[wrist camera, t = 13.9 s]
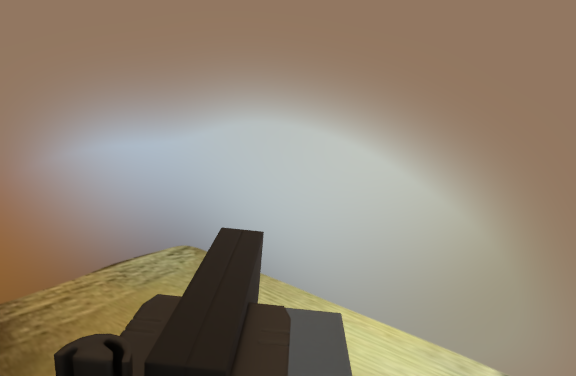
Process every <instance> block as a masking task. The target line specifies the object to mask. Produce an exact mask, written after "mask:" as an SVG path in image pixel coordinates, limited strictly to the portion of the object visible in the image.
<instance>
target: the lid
mask: <svg viewBox="0 0 576 376" xmlns="http://www.w3.org/2000/svg"><path fill="white" fill-rule="evenodd" d="M285 309H286V311H287V312H288V314H289V316H290V318H291V327H290V345H289V364H288V376H352V372H351V366H350V361H349V355H348V350H347V344H346V338H345V333H344V327H343V321H342V316H341V313H332V312H323V311H313V310H303V309H293V308H285Z"/></svg>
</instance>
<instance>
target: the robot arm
mask: <svg viewBox="0 0 576 376" xmlns="http://www.w3.org/2000/svg"><path fill="white" fill-rule="evenodd" d="M263 233H264V232H259V231H250V230H240V229H231V228H221V230H220V231H219V233H218V235H217V237H216V238H215V240H214V242H213V244H212V245H211V247H210V249H209V250H208V252H207V254H206V256H205V257H204V259H203V261H202V263H201V264H200V266H199V268H198V270H197V271H196V273H195V275H194V277H193V278H192V280H191V282H190V284H189V285H188V287H187V289H186V290H185V292H184V294H183V296H182V297H180V296H170V295H161V294H158V295H156V296H155V297H153V298H152V299H150V300H148V301H147V302H145V303H144V304H143V305H142V306H141V307H140V309H139V310H138V311H137V313H136V314H135V316H134V317H133V320H131V321H130V322H129V324H128V325H127V326H126V329H125V331H123V332H122V333H121V335H120V336H117V335H113V334H94V335H90V336H86V337H82V338H79V339H77V340H75V341H73V342H71V343H69V344H67V345H65V346H64V347H63V348H61V349H60V350H59V351H58V352H56V353H55V354H54V360H55V370H56V376H288V364H289V345H290V327H291V318H290V316H289V314H288V312H287V311H286V309H285V307H284V306H277V305H268V304H258V303H257V302H258V294H259V282H260V269H261V257H262V245H263Z"/></svg>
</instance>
